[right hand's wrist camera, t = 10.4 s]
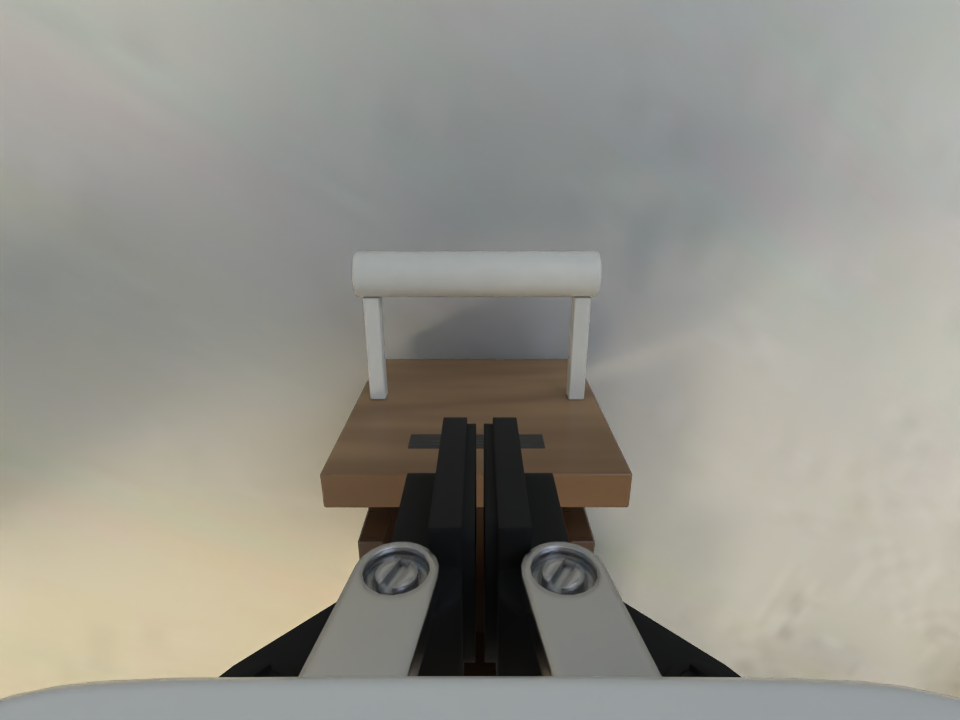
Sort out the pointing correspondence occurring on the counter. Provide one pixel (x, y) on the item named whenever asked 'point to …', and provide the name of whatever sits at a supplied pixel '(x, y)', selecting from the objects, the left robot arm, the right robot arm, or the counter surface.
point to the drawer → (475, 398)
